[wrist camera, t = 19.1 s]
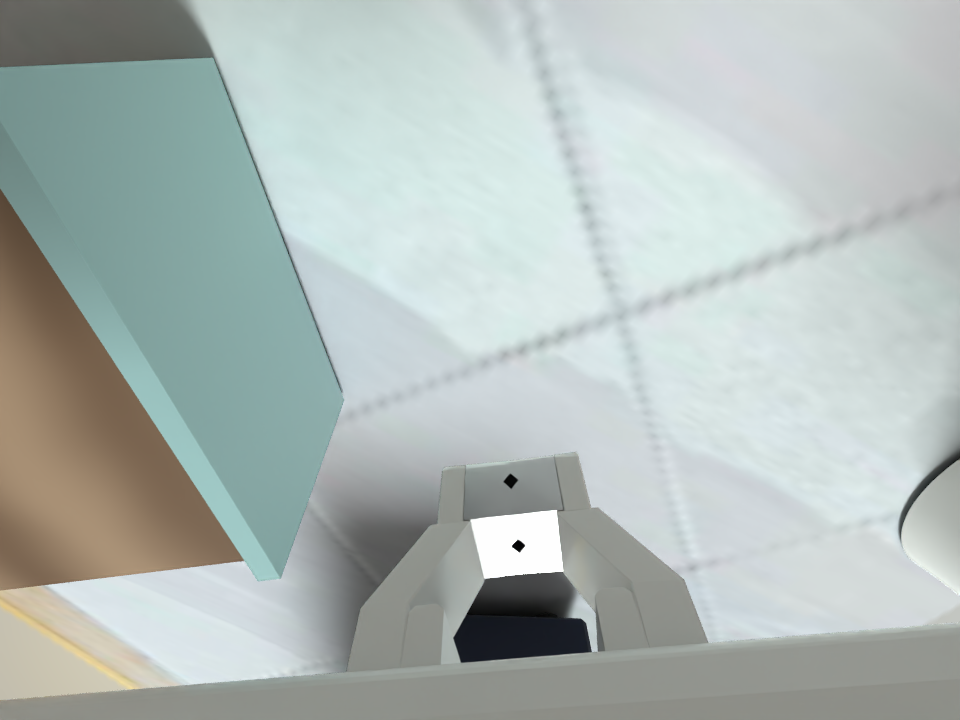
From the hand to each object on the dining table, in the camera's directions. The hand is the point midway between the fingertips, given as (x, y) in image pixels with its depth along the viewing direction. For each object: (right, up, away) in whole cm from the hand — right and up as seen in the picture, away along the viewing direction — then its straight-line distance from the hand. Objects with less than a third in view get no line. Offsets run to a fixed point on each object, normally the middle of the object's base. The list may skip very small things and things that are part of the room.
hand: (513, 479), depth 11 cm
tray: (-15, +6, +10) cm, 20 cm away
